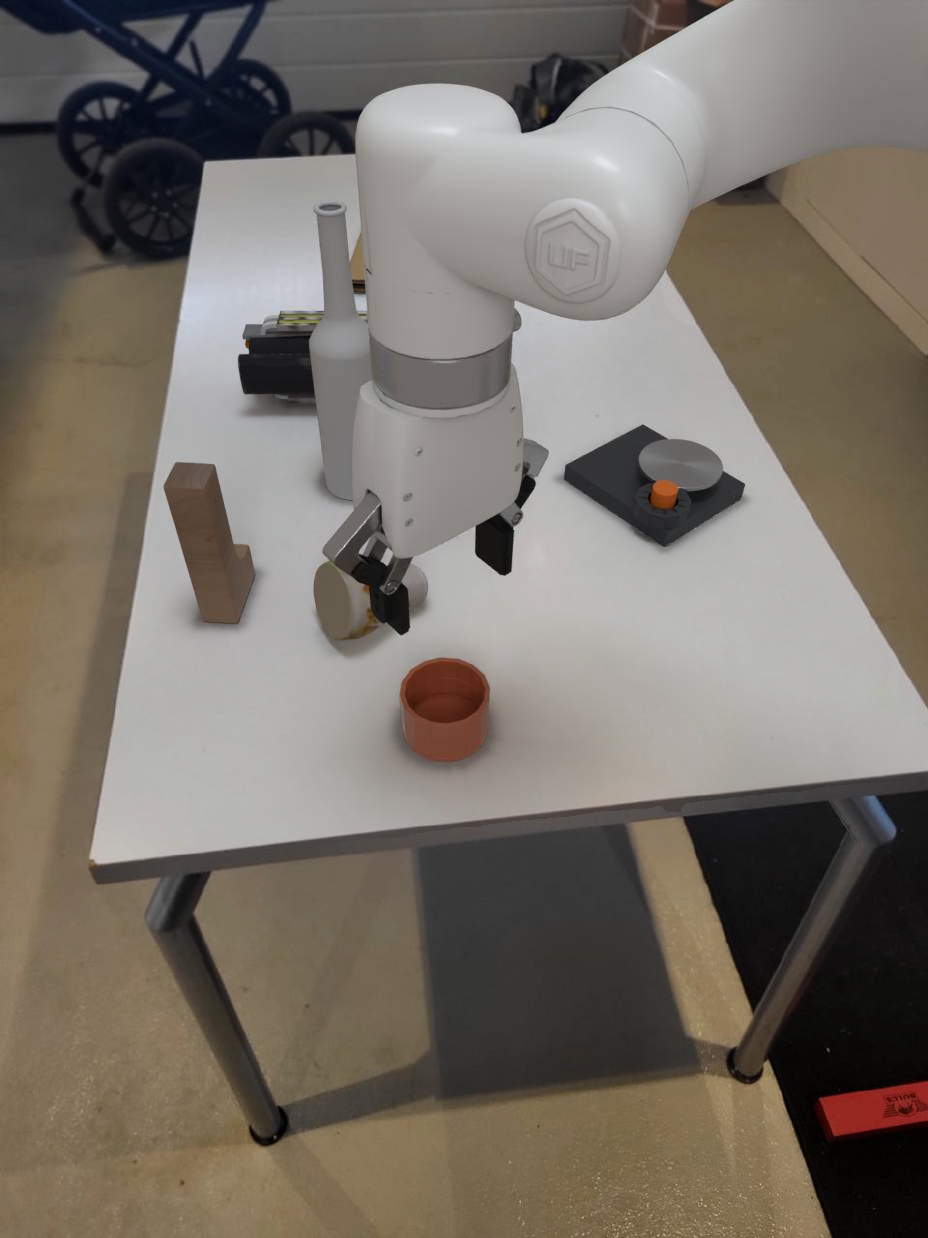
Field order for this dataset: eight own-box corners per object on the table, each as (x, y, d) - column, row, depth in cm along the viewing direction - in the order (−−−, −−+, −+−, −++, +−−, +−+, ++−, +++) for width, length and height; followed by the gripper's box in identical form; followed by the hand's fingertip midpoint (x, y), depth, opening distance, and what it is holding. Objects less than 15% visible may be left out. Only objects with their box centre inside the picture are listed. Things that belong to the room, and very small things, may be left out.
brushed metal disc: (739, 469, 89) (740, 466, 88) (684, 502, 85) (685, 499, 85) (675, 432, 93) (676, 429, 93) (620, 462, 89) (621, 459, 89)
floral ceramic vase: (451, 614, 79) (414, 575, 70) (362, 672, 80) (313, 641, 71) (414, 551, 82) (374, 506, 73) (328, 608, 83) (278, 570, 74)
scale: (742, 499, 91) (751, 471, 88) (659, 551, 85) (665, 523, 83) (640, 438, 98) (645, 411, 96) (557, 482, 93) (560, 454, 90)
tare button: (680, 503, 85) (683, 488, 84) (663, 512, 84) (666, 498, 83) (661, 491, 87) (664, 476, 85) (644, 500, 86) (647, 486, 84)
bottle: (374, 505, 90) (351, 225, 70) (315, 493, 91) (275, 215, 71) (397, 468, 94) (382, 195, 74) (340, 457, 95) (310, 186, 75)
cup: (505, 731, 70) (508, 695, 67) (438, 777, 67) (437, 742, 64) (451, 681, 74) (451, 644, 70) (385, 722, 71) (382, 686, 67)
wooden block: (238, 624, 78) (203, 488, 67) (201, 622, 78) (161, 485, 67) (256, 574, 82) (226, 438, 72) (221, 572, 83) (187, 436, 72)
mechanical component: (473, 418, 101) (474, 337, 94) (247, 419, 101) (232, 337, 93) (471, 375, 107) (472, 296, 100) (259, 375, 107) (245, 296, 100)
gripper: (515, 285, 53) (503, 513, 65) (262, 382, 45) (304, 620, 58) (605, 333, 49) (574, 566, 61) (346, 448, 41) (371, 688, 54)
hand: (443, 591), depth 59 cm, fingers open, 8 cm apart
